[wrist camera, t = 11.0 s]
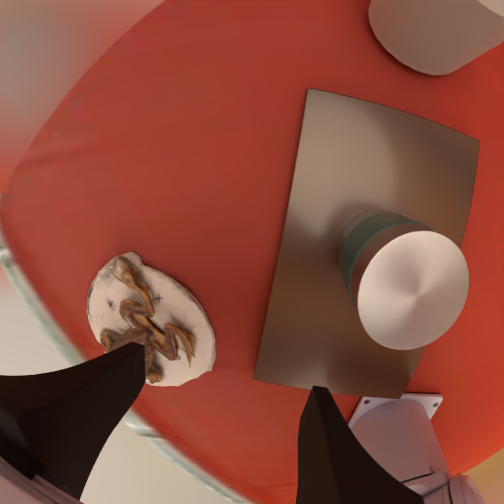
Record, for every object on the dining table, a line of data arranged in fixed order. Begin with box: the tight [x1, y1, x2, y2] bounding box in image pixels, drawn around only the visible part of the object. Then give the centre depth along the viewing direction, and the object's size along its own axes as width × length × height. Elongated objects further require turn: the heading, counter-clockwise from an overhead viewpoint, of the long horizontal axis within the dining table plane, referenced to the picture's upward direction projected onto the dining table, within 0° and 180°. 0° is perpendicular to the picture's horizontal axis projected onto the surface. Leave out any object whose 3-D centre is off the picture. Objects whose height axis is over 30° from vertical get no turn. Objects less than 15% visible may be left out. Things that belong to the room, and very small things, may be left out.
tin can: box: [336, 210, 469, 350], centre depth 14 cm, size 5×5×7 cm
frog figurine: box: [87, 252, 216, 386], centre depth 21 cm, size 12×12×4 cm
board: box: [253, 88, 480, 399], centre depth 18 cm, size 20×12×1 cm, turn 171°
